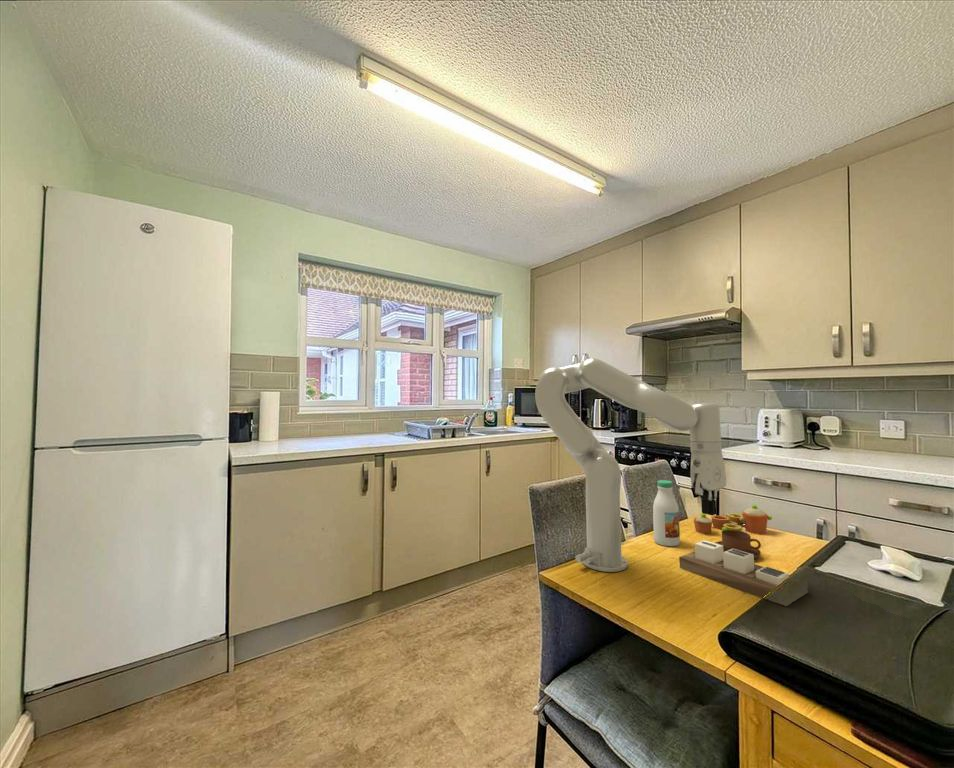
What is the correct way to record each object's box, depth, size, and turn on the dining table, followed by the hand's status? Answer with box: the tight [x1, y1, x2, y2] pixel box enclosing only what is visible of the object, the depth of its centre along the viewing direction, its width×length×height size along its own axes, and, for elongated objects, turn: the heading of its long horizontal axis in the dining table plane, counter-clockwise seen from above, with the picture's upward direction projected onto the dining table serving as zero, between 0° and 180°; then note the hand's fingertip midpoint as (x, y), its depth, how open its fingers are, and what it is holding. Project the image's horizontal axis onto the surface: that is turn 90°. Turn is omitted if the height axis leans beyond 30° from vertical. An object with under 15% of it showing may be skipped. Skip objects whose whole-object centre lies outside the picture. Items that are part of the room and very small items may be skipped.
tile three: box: [756, 566, 790, 585], centre depth 96 cm, size 5×5×4 cm
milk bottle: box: [652, 479, 681, 547], centre depth 130 cm, size 8×8×20 cm
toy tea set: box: [693, 504, 773, 535], centre depth 140 cm, size 26×16×10 cm, turn 113°
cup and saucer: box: [714, 530, 762, 559], centre depth 120 cm, size 12×12×6 cm
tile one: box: [694, 540, 723, 564], centre depth 109 cm, size 5×5×4 cm
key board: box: [678, 550, 791, 599], centre depth 103 cm, size 12×25×3 cm, turn 32°
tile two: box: [723, 549, 755, 575], centre depth 103 cm, size 5×5×4 cm
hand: (709, 513), depth 109 cm, fingers closed
